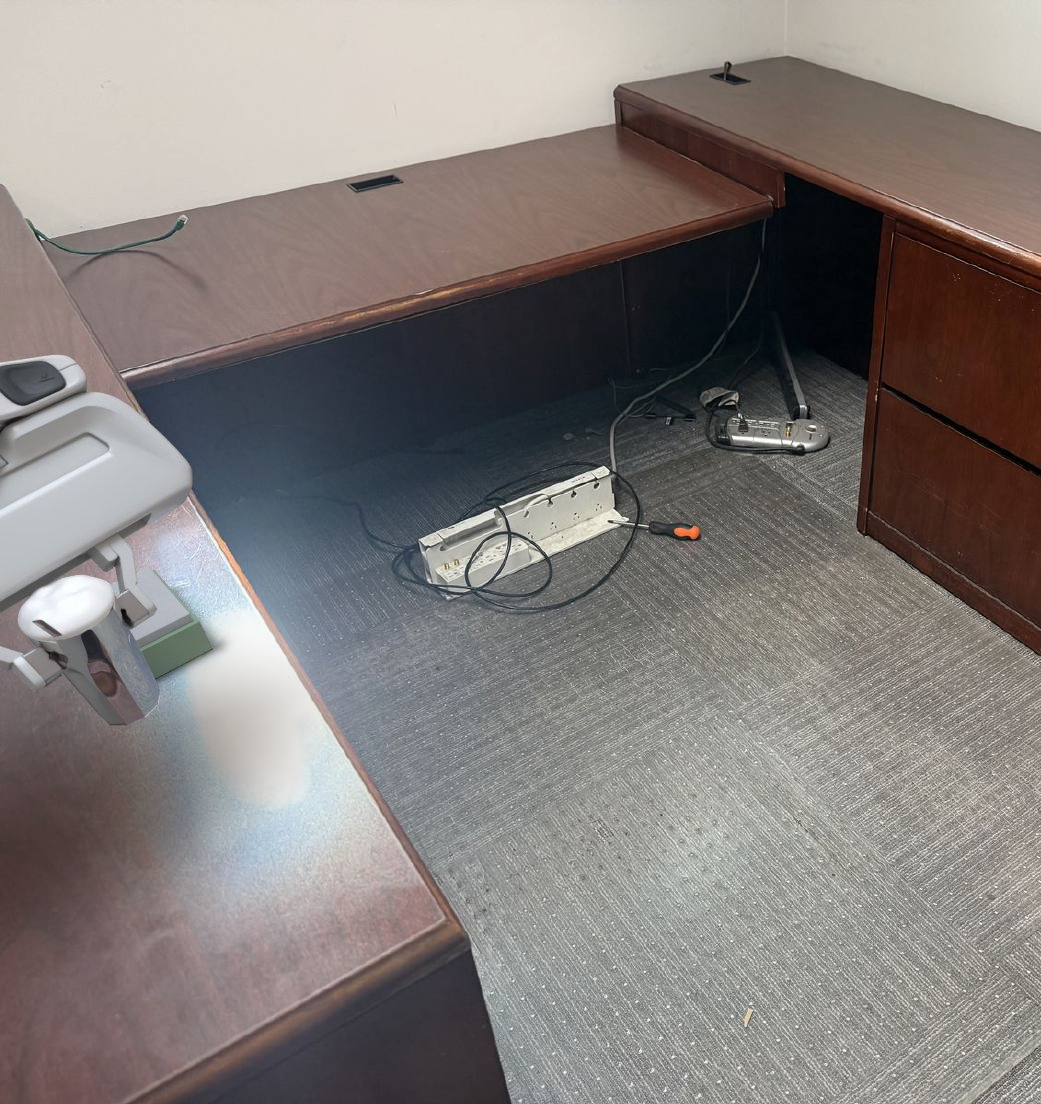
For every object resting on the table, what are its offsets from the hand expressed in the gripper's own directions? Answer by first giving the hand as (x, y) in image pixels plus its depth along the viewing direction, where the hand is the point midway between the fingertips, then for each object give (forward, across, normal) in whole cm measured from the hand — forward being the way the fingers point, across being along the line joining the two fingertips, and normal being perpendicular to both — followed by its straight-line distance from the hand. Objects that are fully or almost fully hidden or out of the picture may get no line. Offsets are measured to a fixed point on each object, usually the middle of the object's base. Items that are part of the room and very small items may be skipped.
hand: (99, 649), depth 55 cm
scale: (-2, +9, +27) cm, 28 cm away
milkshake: (+4, 0, +4) cm, 6 cm away
